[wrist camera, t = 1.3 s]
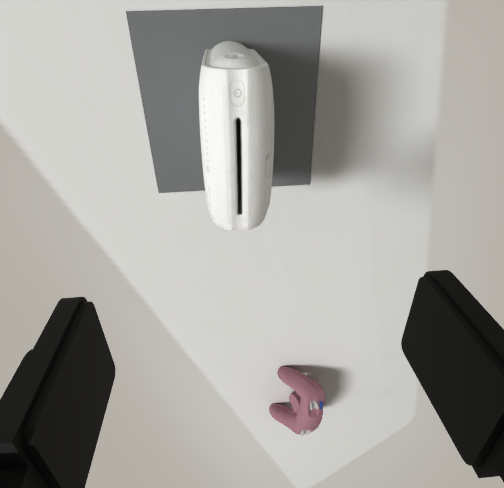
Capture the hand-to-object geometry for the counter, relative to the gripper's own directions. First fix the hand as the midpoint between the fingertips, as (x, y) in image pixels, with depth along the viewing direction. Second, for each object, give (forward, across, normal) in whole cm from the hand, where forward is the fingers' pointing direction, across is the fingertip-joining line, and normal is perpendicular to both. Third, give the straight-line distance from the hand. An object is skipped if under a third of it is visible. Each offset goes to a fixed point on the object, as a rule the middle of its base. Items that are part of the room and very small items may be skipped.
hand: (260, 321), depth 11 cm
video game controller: (+24, -7, +37) cm, 45 cm away
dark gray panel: (+23, 0, -1) cm, 23 cm away
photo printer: (+24, 0, -1) cm, 24 cm away
